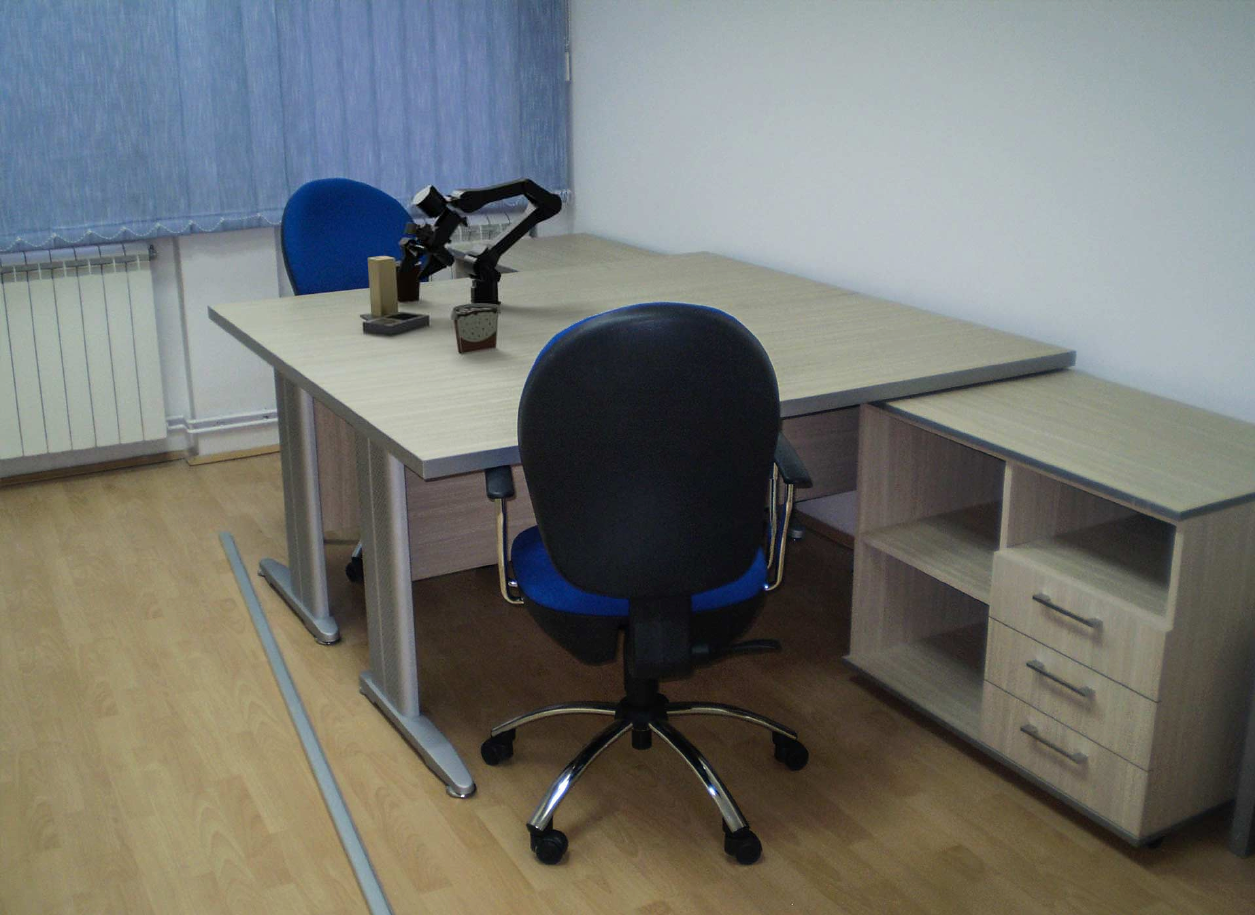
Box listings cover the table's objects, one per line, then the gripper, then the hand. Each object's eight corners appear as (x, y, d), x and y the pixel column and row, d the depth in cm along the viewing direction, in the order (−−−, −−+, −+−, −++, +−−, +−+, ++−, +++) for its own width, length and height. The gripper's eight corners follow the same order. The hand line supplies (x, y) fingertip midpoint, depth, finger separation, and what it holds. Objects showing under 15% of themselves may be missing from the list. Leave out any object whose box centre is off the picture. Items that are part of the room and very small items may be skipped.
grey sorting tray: (402, 321, 322) (401, 311, 321) (429, 325, 318) (429, 314, 317) (363, 331, 311) (362, 321, 310) (391, 336, 306) (390, 325, 305)
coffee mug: (416, 303, 344) (414, 266, 340) (386, 302, 345) (384, 265, 342) (431, 295, 354) (429, 259, 351) (402, 294, 356) (400, 258, 353)
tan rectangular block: (388, 313, 329) (385, 255, 324) (398, 316, 326) (395, 258, 321) (371, 316, 326) (367, 257, 321) (381, 319, 322) (377, 260, 318)
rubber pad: (397, 312, 332) (396, 310, 332) (409, 319, 324) (409, 318, 324) (359, 316, 328) (359, 314, 328) (371, 323, 319) (371, 322, 319)
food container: (487, 342, 300) (485, 300, 297) (501, 347, 296) (500, 304, 292) (442, 350, 293) (440, 307, 290) (456, 355, 288) (454, 311, 285)
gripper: (402, 206, 332) (368, 253, 329) (442, 214, 319) (407, 263, 315) (429, 233, 339) (396, 279, 336) (469, 241, 326) (436, 290, 323)
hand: (408, 277), depth 328 cm, fingers open, 9 cm apart
